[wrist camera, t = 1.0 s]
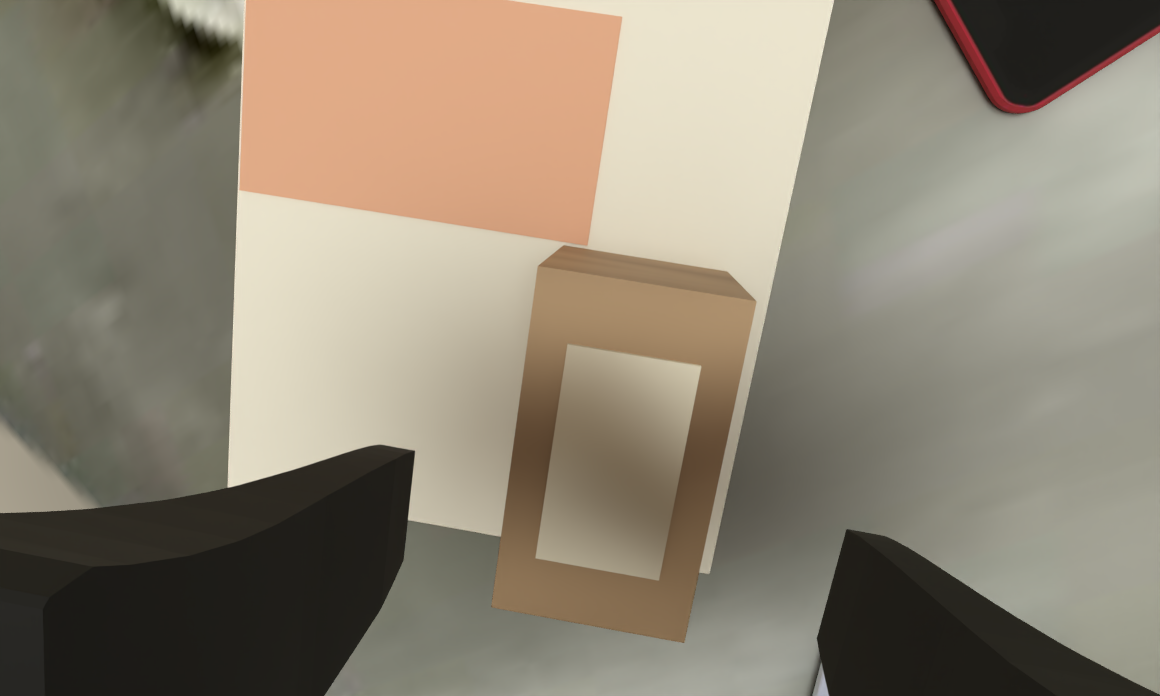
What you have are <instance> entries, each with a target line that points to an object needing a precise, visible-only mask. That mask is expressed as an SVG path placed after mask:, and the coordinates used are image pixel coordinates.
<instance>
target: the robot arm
mask: <svg viewBox="0 0 1160 696" xmlns="http://www.w3.org/2000/svg"><path fill="white" fill-rule="evenodd" d="M414 458H415V451H414V450H408V449H403V448H397V447H392V446H386V445H381V444H379V445H372V446H367V447H364V448H360V449H356V450H353V451H350V452H347V453H344V454H340V455H337V456H334V457H331V458H328V459H325V460H322V461H319V462H316V463H313V464H310V465H307V466H303V467H300V468H297V469H294V470H291V471H287V472H284V473H280V474H277V475H273V476H270V477H266V478H263V479H259V480H255V481H252V482H248V483H245V484H241V485H237V486H233V487H229V488H225V489H220V490H216V491H211V492H207V493H201V494H196V495H191V496H185V497H180V498H175V499H168V500H162V501H155V502H146V503H137V504H129V505H120V506H112V507H103V508H95V509H83V510H67V511H51V512H27V513H0V696H324V695H325V694H326V692H327V691H328V689H329V688H330V686H331V685H332V683H333V682H334V680H335V678H336V677H337V675H338V674H339V672H340V671H341V669H342V668H343V666H344V665H345V663H346V662H347V660H348V659H349V657H350V656H351V654H352V653H353V651H354V650H355V648H356V647H357V645H358V644H359V642H360V640H361V639H362V637H363V636H364V634H365V633H366V631H367V630H368V628H369V627H370V625H371V623H372V622H373V620H374V619H375V617H376V616H377V614H378V612H379V611H380V609H381V607H382V605H383V603H384V601H385V599H386V597H387V595H388V593H389V591H390V589H391V587H392V584H393V582H394V580H395V578H396V576H397V573H398V571H399V569H400V567H401V564H402V562H403V559H404V550H405V541H406V532H407V523H408V513H409V504H410V495H411V486H412V477H413V467H414ZM817 641H818V646H819V652H820V657H821V665H820V669H819V673H818V676H817V680H816V684H815V687H814V691H813V695H812V696H1160V695H1159V694H1157V693H1155V692H1153V691H1151V690H1149V689H1147V688H1145V687H1142V686H1140V685H1138V684H1136V683H1134V682H1132V681H1130V680H1128V679H1126V678H1125V677H1123V676H1121V675H1119V674H1117V673H1115V672H1113V671H1111V670H1109V669H1107V668H1105V667H1103V666H1101V665H1099V664H1097V663H1096V662H1094V661H1092V660H1090V659H1088V658H1086V657H1084V656H1082V655H1080V654H1078V653H1077V652H1075V651H1073V650H1071V649H1069V648H1068V647H1066V646H1064V645H1062V644H1061V643H1059V642H1057V641H1055V640H1054V639H1052V638H1050V637H1049V636H1047V635H1045V634H1044V633H1042V632H1040V631H1039V630H1037V629H1035V628H1034V627H1032V626H1030V625H1028V624H1027V623H1025V622H1023V621H1022V620H1020V619H1018V618H1017V617H1015V616H1014V615H1012V614H1010V613H1009V612H1007V611H1006V610H1004V609H1002V608H1001V607H999V606H998V605H996V604H994V603H993V602H991V601H990V600H988V599H987V598H985V597H984V596H982V595H980V594H979V593H977V592H976V591H974V590H973V589H971V588H970V587H968V586H967V585H965V584H964V583H962V582H961V581H959V580H958V579H956V578H955V577H953V576H951V575H950V574H948V573H947V572H945V571H944V570H942V569H941V568H939V567H938V566H936V565H935V564H933V563H932V562H930V561H928V560H927V559H925V558H924V557H922V556H921V555H919V554H917V553H916V552H914V551H912V550H911V549H909V548H907V547H906V546H904V545H902V544H900V543H898V542H896V541H894V540H892V539H890V538H888V537H885V536H881V535H876V534H870V533H865V532H859V531H854V530H848V529H847V530H846V533H845V537H844V541H843V544H842V548H841V552H840V555H839V559H838V563H837V567H836V570H835V574H834V578H833V581H832V585H831V589H830V592H829V596H828V600H827V603H826V607H825V611H824V614H823V618H822V622H821V625H820V629H819V633H818V637H817Z"/></svg>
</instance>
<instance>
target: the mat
mask: <svg viewBox="0 0 1160 696" xmlns="http://www.w3.org/2000/svg"><path fill="white" fill-rule="evenodd" d="M833 2H834V0H244V25H243V55H242V84H241V113H240V142H239V171H238V201H237V230H236V259H235V288H234V317H233V347H232V376H231V405H230V434H229V463H228V488H229V487H233V486H237V485H241V484H245V483H248V482H252V481H255V480H259V479H263V478H266V477H270V476H273V475H277V474H280V473H284V472H287V471H291V470H294V469H297V468H300V467H303V466H307V465H310V464H313V463H316V462H319V461H322V460H325V459H328V458H331V457H334V456H337V455H340V454H344V453H347V452H350V451H353V450H356V449H360V448H364V447H367V446H372V445H379V444H381V445H386V446H392V447H397V448H403V449H408V450H414V451H415V458H414V467H413V477H412V486H411V495H410V504H409V513H408V520H411V521H416V522H422V523H428V524H433V525H439V526H444V527H450V528H455V529H461V530H466V531H472V532H478V533H483V534H489V535H494V536H500V537H501V532H502V525H503V517H504V510H505V503H506V495H507V488H508V481H509V473H510V466H511V459H512V451H513V444H514V437H515V429H516V422H517V415H518V407H519V400H520V393H521V385H522V378H523V371H524V363H525V356H526V349H527V341H528V334H529V327H530V319H531V312H532V305H533V297H534V290H535V283H536V275H537V268H538V265H540V264H541V263H542V262H543V261H545V260H546V259H547V258H548V257H550V256H551V255H552V254H553V253H555V252H556V251H557V250H558V249H560V248H561V247H562V246H563V245H565V246H571V247H578V248H584V249H590V250H596V251H603V252H609V253H615V254H622V255H628V256H634V257H640V258H647V259H653V260H659V261H665V262H672V263H678V264H684V265H690V266H697V267H703V268H709V269H715V270H722V271H727V272H728V273H729V274H730V275H731V276H732V277H733V278H734V279H735V280H736V281H737V282H738V283H739V284H740V285H741V286H742V287H743V288H744V289H745V290H746V291H747V292H748V293H749V294H750V295H751V296H752V297H753V298H754V299H755V300H756V301H757V303H756V307H755V312H754V317H753V322H752V326H751V331H750V336H749V340H748V345H747V350H746V354H745V359H744V364H743V369H742V373H741V378H740V383H739V387H738V392H737V397H736V401H735V406H734V411H733V416H732V420H731V425H730V430H729V434H728V439H727V444H726V448H725V453H724V458H723V463H722V467H721V472H720V477H719V481H718V486H717V491H716V495H715V500H714V505H713V510H712V514H711V519H710V524H709V528H708V533H707V538H706V543H705V547H704V552H703V557H702V561H701V566H700V571H699V572H700V573H706V574H710V570H711V565H712V560H713V556H714V551H715V546H716V542H717V537H718V533H719V528H720V523H721V519H722V514H723V510H724V505H725V500H726V496H727V491H728V486H729V482H730V477H731V473H732V468H733V463H734V459H735V454H736V450H737V445H738V440H739V436H740V431H741V427H742V422H743V417H744V413H745V408H746V403H747V399H748V394H749V390H750V385H751V380H752V376H753V371H754V367H755V362H756V357H757V353H758V348H759V343H760V339H761V334H762V330H763V325H764V320H765V316H766V311H767V307H768V302H769V297H770V293H771V288H772V283H773V279H774V274H775V270H776V265H777V260H778V256H779V251H780V247H781V242H782V237H783V233H784V228H785V224H786V219H787V214H788V210H789V205H790V200H791V196H792V191H793V187H794V182H795V177H796V173H797V168H798V164H799V159H800V154H801V150H802V145H803V140H804V136H805V131H806V127H807V122H808V117H809V113H810V108H811V104H812V99H813V94H814V90H815V85H816V80H817V76H818V71H819V67H820V62H821V57H822V53H823V48H824V44H825V39H826V34H827V30H828V25H829V20H830V16H831V11H832V7H833Z"/></svg>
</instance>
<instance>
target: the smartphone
mask: <svg viewBox="0 0 1160 696" xmlns="http://www.w3.org/2000/svg"><path fill="white" fill-rule="evenodd" d="M934 1H935V3H936V5H937V6H938V8H939V10H940V12H941V14H942V15H943V17H944V19H945V21H946V23H947V24H948V26H949V28H950V30H951V32H952V33H953V35H954V37H955V39H956V40H957V42H958V44H959V46H960V48H961V49H962V51H963V53H964V55H965V57H966V58H967V60H968V62H969V64H970V66H971V67H972V69H973V71H974V73H975V74H976V76H977V78H978V80H979V82H980V83H981V85H982V87H983V89H984V91H985V92H986V94H987V96H988V98H989V99H990V100H991V102H992V103H993V104H994V105H995V106H996V107H997V108H999V109H1001V110H1003V111H1005V112H1009V113H1017V114H1019V113H1026V112H1031V111H1034V110H1037V109H1039V108H1041V107H1043V106H1045V105H1047V104H1048V103H1050V102H1051V101H1053V100H1054V99H1056V98H1058V97H1059V96H1061V95H1062V94H1064V93H1065V92H1067V91H1069V90H1070V89H1072V88H1073V87H1075V86H1076V85H1078V84H1080V83H1081V82H1083V81H1084V80H1086V79H1087V78H1089V77H1090V76H1092V75H1094V74H1095V73H1097V72H1098V71H1100V70H1101V69H1103V68H1105V67H1106V66H1108V65H1109V64H1111V63H1112V62H1114V61H1116V60H1117V59H1119V58H1120V57H1122V56H1123V55H1125V54H1126V53H1128V52H1130V51H1131V50H1133V49H1134V48H1136V47H1137V46H1139V45H1141V44H1142V43H1144V42H1145V41H1147V40H1148V39H1150V38H1152V37H1153V36H1155V35H1156V34H1158V33H1159V32H1160V0H934Z"/></svg>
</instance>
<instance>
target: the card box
mask: <svg viewBox="0 0 1160 696" xmlns="http://www.w3.org/2000/svg"><path fill="white" fill-rule="evenodd" d="M756 303H757V301H756V300H755V299H754V298H753V297H752V296H751V295H750V294H749V293H748V292H747V291H746V290H745V289H744V288H743V287H742V286H741V285H740V284H739V283H738V282H737V281H736V280H735V279H734V278H733V277H732V276H731V275H730V274H729V273H728V272H727V271H722V270H715V269H709V268H703V267H697V266H690V265H684V264H678V263H672V262H665V261H659V260H653V259H647V258H640V257H634V256H628V255H622V254H615V253H609V252H603V251H596V250H590V249H584V248H578V247H571V246H565V245H563V246H562V247H561V248H560V249H558V250H557V251H556V252H555V253H553V254H552V255H551V256H550V257H548V258H547V259H546V260H545V261H543V262H542V263H541V264H540V265H538V268H537V275H536V283H535V290H534V297H533V305H532V312H531V319H530V327H529V334H528V341H527V349H526V356H525V363H524V371H523V378H522V385H521V393H520V400H519V407H518V415H517V422H516V429H515V437H514V444H513V451H512V459H511V466H510V473H509V481H508V488H507V495H506V503H505V510H504V517H503V525H502V532H501V539H500V547H499V554H498V561H497V569H496V576H495V583H494V591H493V598H492V605H491V607H492V608H498V609H503V610H509V611H514V612H520V613H525V614H530V615H536V616H541V617H547V618H552V619H557V620H563V621H568V622H574V623H579V624H584V625H590V626H595V627H601V628H606V629H612V630H617V631H622V632H628V633H633V634H639V635H644V636H649V637H655V638H660V639H666V640H671V641H677V642H682V643H684V641H685V637H686V632H687V627H688V622H689V618H690V613H691V608H692V604H693V599H694V594H695V590H696V585H697V580H698V575H699V571H700V566H701V561H702V557H703V552H704V547H705V543H706V538H707V533H708V528H709V524H710V519H711V514H712V510H713V505H714V500H715V495H716V491H717V486H718V481H719V477H720V472H721V467H722V463H723V458H724V453H725V448H726V444H727V439H728V434H729V430H730V425H731V420H732V416H733V411H734V406H735V401H736V397H737V392H738V387H739V383H740V378H741V373H742V369H743V364H744V359H745V354H746V350H747V345H748V340H749V336H750V331H751V326H752V322H753V317H754V312H755V307H756Z"/></svg>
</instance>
